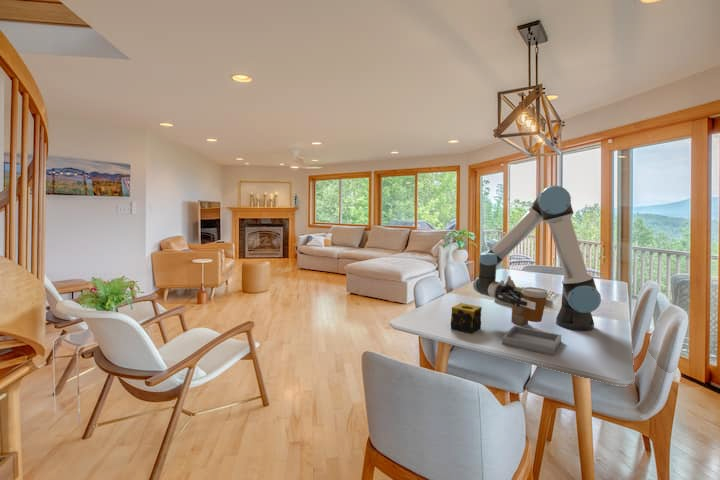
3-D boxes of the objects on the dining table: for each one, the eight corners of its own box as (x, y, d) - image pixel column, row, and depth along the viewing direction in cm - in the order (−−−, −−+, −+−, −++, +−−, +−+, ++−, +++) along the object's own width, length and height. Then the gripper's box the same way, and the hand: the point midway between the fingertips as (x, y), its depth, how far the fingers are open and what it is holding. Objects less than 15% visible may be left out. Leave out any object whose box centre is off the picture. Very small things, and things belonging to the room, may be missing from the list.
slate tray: (560, 341, 148) (561, 335, 148) (553, 355, 133) (553, 348, 133) (513, 332, 158) (514, 325, 158) (501, 343, 144) (502, 336, 144)
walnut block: (519, 320, 175) (520, 302, 174) (527, 324, 170) (529, 304, 169) (511, 321, 173) (512, 303, 172) (519, 325, 168) (520, 305, 168)
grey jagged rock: (489, 301, 211) (493, 275, 209) (510, 299, 219) (513, 274, 217) (511, 309, 198) (515, 282, 196) (532, 307, 205) (536, 281, 203)
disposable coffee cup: (549, 324, 140) (551, 293, 138) (522, 322, 141) (524, 291, 140) (542, 317, 149) (544, 288, 148) (517, 315, 151) (519, 286, 150)
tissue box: (459, 324, 168) (460, 302, 167) (481, 329, 162) (482, 306, 161) (449, 329, 160) (450, 306, 159) (472, 334, 154) (473, 311, 153)
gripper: (519, 298, 165) (563, 312, 144) (481, 301, 158) (521, 317, 137) (520, 282, 165) (565, 294, 143) (482, 284, 157) (522, 297, 136)
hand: (543, 305), depth 140 cm, fingers closed on disposable coffee cup, 8 cm apart
